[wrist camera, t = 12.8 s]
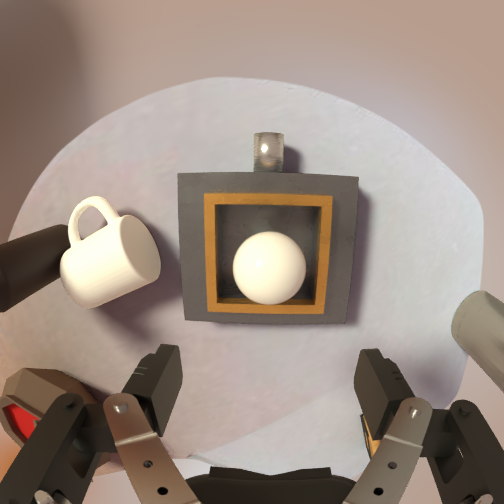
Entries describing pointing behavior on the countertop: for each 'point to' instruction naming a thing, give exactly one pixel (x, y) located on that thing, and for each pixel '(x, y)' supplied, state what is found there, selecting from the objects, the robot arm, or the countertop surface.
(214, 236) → the grey shallow box
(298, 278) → the lightbulb
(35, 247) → the bottle
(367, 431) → the ammunition clip
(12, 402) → the brown cauldron
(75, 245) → the mug
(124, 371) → the countertop surface
